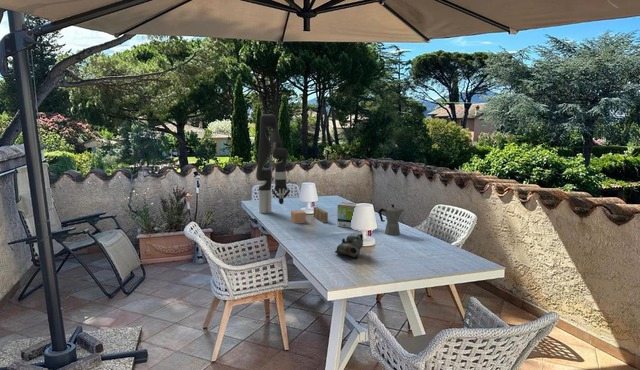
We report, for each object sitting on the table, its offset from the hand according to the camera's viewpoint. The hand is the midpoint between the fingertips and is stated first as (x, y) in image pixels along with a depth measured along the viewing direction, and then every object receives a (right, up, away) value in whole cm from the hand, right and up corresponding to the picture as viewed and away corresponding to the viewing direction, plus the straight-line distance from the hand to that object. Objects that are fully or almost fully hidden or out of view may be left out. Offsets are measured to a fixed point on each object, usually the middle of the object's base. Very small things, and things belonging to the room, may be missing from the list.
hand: (281, 203), depth 287 cm
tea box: (+46, -14, -6) cm, 48 cm away
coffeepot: (+69, -17, -25) cm, 75 cm away
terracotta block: (+11, -13, +6) cm, 18 cm away
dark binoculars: (+41, -24, -68) cm, 82 cm away
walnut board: (+26, -11, +12) cm, 31 cm away
